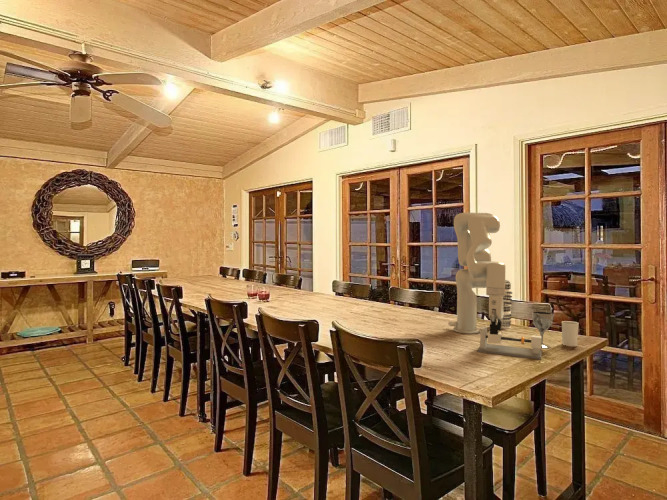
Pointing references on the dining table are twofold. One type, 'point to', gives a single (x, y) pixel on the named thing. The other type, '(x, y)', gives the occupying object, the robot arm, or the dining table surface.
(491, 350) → the board
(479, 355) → the dining table surface
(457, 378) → the dining table surface
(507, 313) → the decorative candle
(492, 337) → the sleeve
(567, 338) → the beige cup
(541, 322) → the wine glass
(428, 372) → the dining table surface
